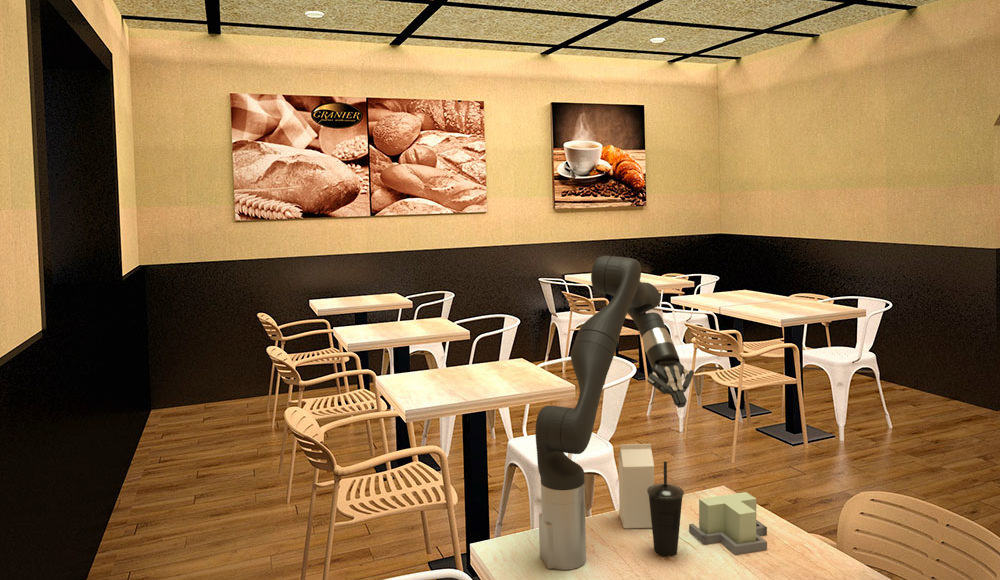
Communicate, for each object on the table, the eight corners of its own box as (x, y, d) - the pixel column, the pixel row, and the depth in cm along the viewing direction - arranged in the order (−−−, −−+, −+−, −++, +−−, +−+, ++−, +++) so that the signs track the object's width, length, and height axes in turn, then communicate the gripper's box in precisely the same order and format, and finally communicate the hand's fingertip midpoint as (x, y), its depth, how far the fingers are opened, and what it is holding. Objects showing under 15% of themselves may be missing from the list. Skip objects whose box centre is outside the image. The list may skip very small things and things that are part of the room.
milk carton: (654, 528, 165) (654, 449, 162) (623, 529, 165) (622, 449, 163) (648, 515, 172) (648, 438, 169) (619, 515, 172) (618, 439, 170)
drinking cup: (684, 544, 156) (684, 457, 154) (683, 561, 149) (683, 469, 147) (648, 541, 158) (648, 454, 156) (646, 557, 151) (645, 467, 149)
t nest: (718, 557, 150) (718, 549, 150) (689, 531, 162) (689, 524, 162) (783, 547, 154) (783, 539, 154) (750, 522, 166) (750, 515, 166)
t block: (723, 552, 152) (723, 516, 151) (699, 532, 162) (699, 498, 161) (772, 544, 155) (772, 509, 154) (746, 525, 165) (746, 492, 164)
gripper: (641, 342, 185) (662, 401, 174) (687, 339, 188) (711, 396, 177) (632, 358, 191) (653, 416, 180) (678, 354, 194) (700, 410, 183)
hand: (682, 405), depth 179 cm, fingers closed
